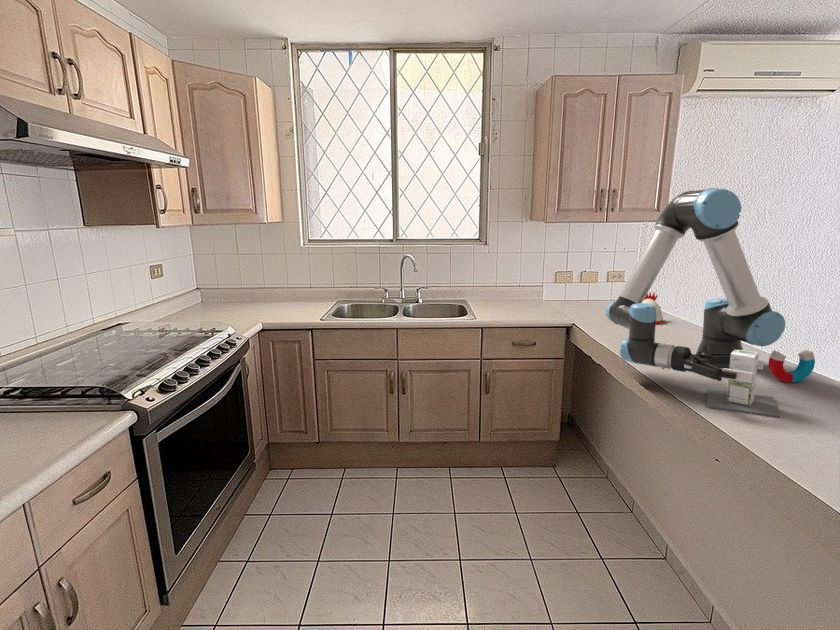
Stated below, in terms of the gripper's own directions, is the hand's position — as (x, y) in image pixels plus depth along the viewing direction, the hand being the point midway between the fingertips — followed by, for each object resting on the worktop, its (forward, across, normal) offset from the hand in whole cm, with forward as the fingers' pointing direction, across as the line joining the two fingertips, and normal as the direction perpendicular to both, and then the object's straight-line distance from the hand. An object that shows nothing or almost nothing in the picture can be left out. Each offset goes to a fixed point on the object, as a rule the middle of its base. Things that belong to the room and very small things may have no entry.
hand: (757, 371), depth 125 cm
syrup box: (-3, 0, -10) cm, 10 cm away
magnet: (+4, -28, -10) cm, 30 cm away
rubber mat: (-3, 0, -10) cm, 11 cm away
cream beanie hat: (-60, -86, -10) cm, 106 cm away
